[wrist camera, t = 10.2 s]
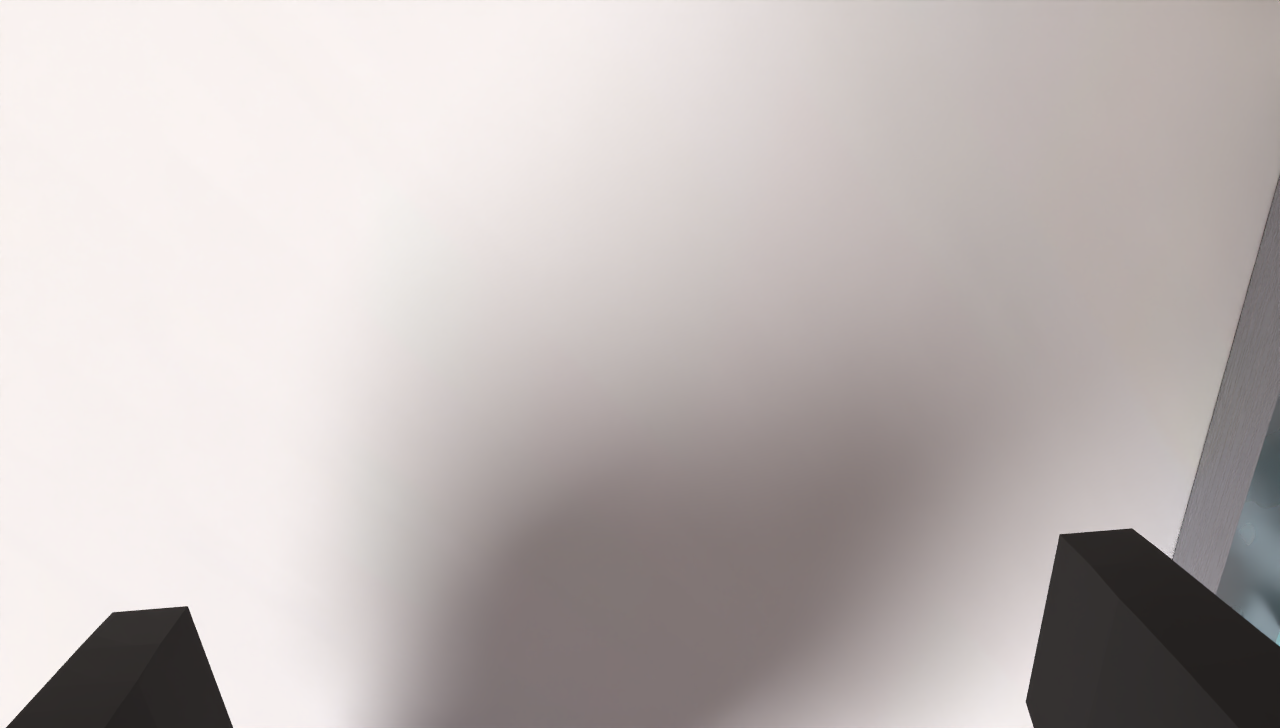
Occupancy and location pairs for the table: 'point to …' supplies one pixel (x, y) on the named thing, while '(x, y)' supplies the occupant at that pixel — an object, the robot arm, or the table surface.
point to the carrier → (1244, 460)
